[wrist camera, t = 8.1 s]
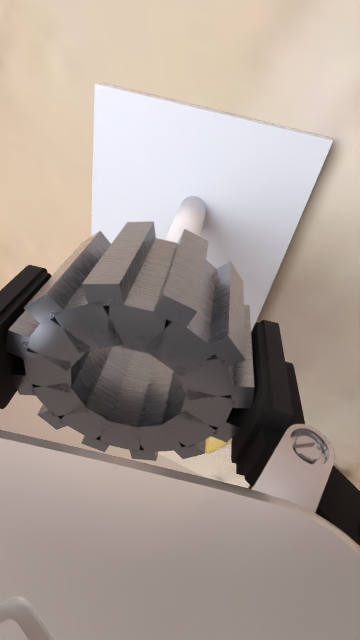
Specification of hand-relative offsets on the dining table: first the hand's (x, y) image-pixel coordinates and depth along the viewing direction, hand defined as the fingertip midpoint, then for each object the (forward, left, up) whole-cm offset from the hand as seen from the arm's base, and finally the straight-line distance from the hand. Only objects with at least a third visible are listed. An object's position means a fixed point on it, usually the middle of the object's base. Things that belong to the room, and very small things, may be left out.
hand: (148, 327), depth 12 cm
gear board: (+4, 0, -15) cm, 15 cm away
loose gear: (0, 0, -1) cm, 1 cm away
